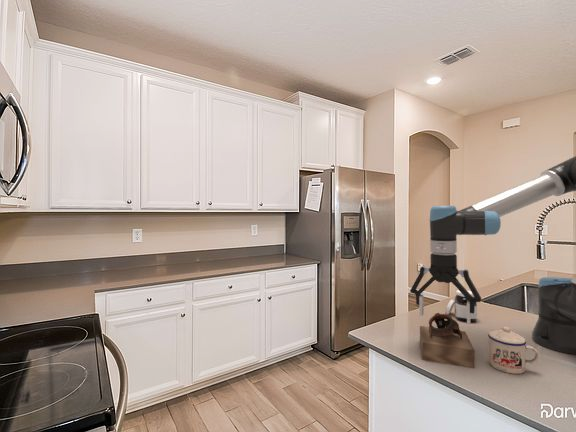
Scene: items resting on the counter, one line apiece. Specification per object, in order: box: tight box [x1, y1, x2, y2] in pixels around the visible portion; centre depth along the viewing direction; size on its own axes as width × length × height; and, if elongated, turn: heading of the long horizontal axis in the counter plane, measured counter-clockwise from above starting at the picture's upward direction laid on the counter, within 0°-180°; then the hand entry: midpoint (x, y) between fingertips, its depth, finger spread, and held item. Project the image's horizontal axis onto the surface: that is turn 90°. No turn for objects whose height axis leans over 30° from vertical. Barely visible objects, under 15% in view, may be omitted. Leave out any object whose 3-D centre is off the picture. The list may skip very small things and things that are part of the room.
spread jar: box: [444, 289, 478, 323], centre depth 128 cm, size 12×11×12 cm
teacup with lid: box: [487, 326, 540, 375], centre depth 87 cm, size 12×9×12 cm
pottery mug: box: [428, 312, 463, 339], centre depth 96 cm, size 12×10×8 cm
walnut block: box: [419, 325, 476, 369], centre depth 96 cm, size 14×14×6 cm
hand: (444, 318), depth 96 cm, fingers open, 13 cm apart
